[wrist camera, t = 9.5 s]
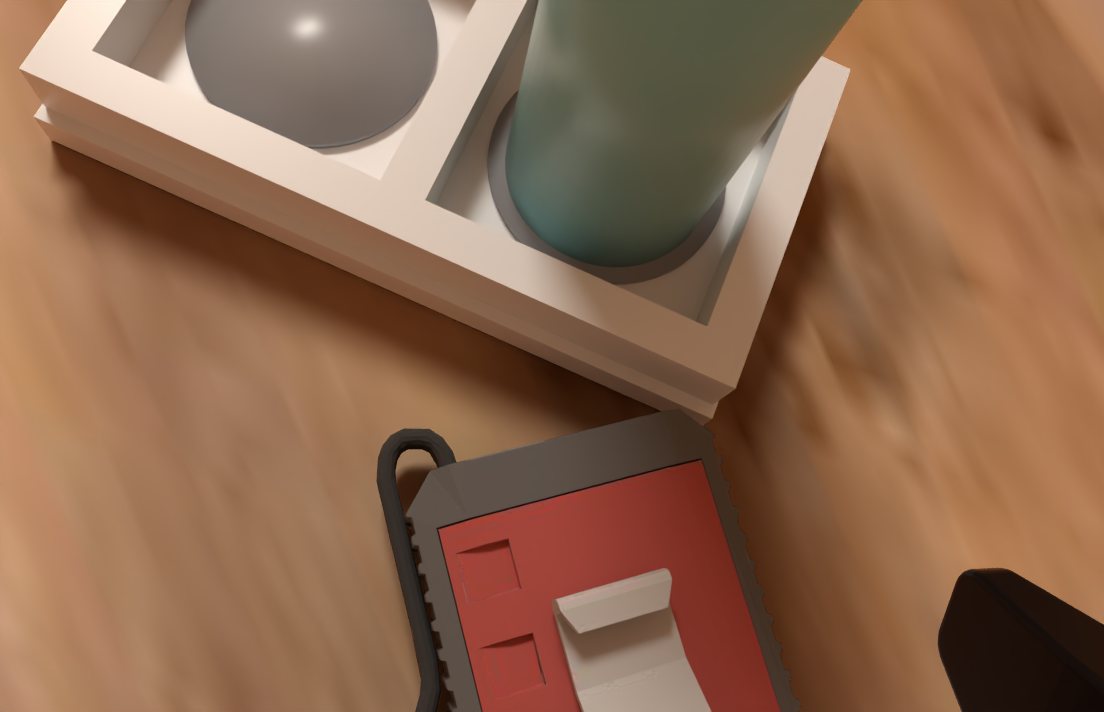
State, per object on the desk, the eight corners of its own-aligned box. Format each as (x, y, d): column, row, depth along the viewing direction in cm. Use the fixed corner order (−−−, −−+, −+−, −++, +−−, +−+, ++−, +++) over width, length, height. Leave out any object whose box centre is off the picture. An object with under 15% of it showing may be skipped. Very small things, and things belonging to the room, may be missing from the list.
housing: (698, 427, 22) (735, 403, 19) (49, 139, 21) (6, 77, 19) (813, 116, 25) (858, 61, 22) (242, -146, 24) (225, -230, 22)
